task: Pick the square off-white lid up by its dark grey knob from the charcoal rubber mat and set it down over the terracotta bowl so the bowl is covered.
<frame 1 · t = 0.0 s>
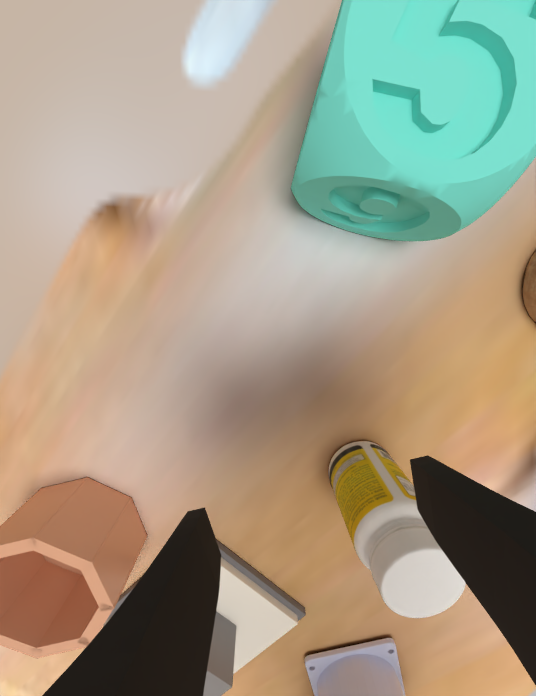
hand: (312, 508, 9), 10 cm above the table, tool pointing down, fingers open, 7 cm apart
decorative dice: (366, 162, 17), on the table
lid: (202, 617, 23), resting on mat
mat: (203, 611, 23), on the table
supplement bottle: (358, 465, 21), on the table
bowl: (86, 529, 21), on the table
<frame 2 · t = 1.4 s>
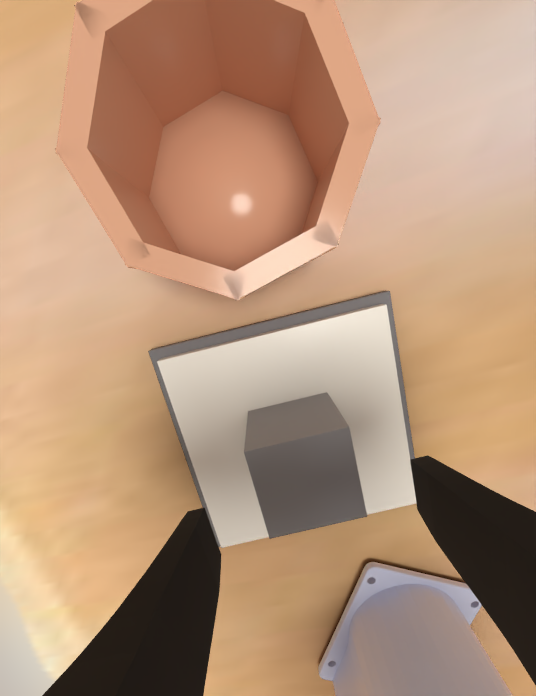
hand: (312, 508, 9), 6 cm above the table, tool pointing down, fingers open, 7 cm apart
lid: (294, 431, 15), resting on mat
mat: (293, 426, 15), on the table
bowl: (234, 194, 13), on the table
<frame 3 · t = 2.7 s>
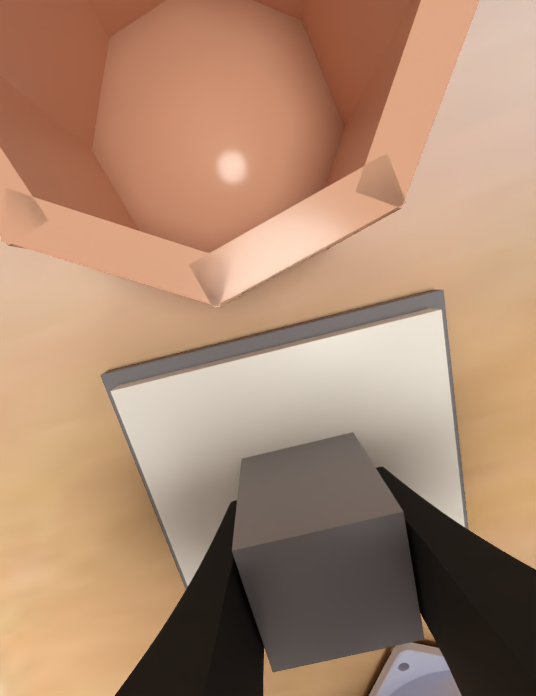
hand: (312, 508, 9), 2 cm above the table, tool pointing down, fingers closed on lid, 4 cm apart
lid: (306, 481, 11), resting on mat, touching gripper
mat: (304, 473, 11), on the table
bowl: (221, 148, 9), on the table
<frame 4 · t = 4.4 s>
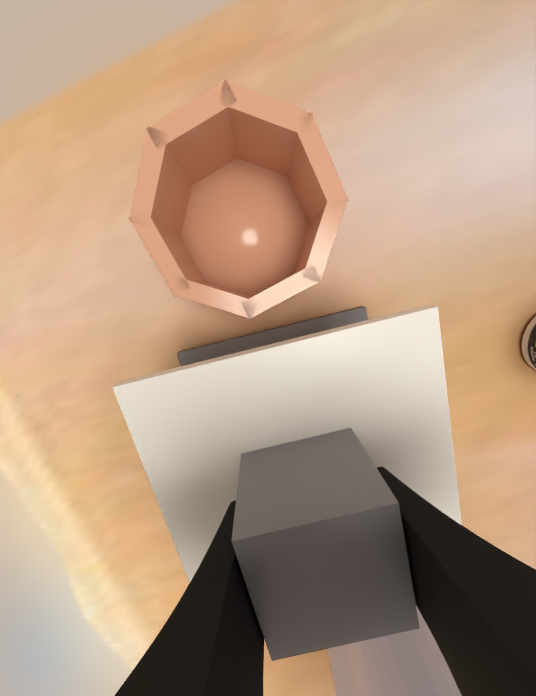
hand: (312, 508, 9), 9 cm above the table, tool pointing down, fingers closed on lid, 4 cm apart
lid: (304, 476, 11), point 8 cm above the table, touching gripper
mat: (291, 414, 19), on the table
bowl: (245, 232, 16), on the table
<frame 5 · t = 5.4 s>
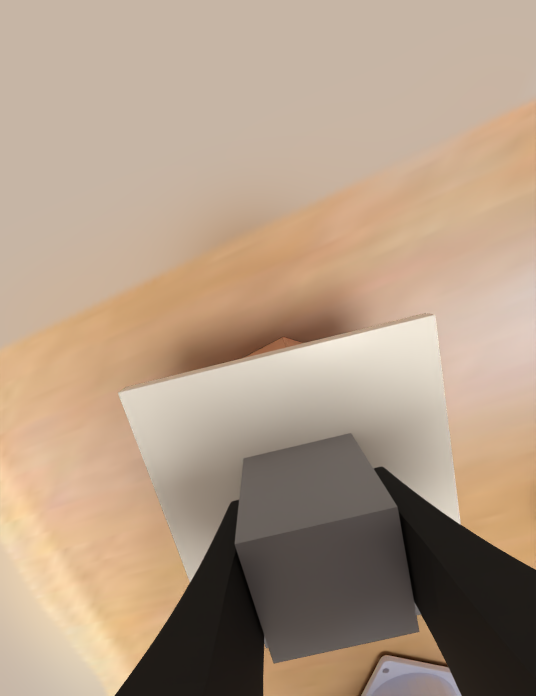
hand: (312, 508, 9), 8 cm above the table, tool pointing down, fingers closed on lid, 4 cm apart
lid: (306, 481, 11), point 6 cm above the table, touching gripper
bowl: (289, 409, 17), on the table
when the fingers open (7 cm above the table, at t = 6.3 s): lid stays where it is, resting on bowl.
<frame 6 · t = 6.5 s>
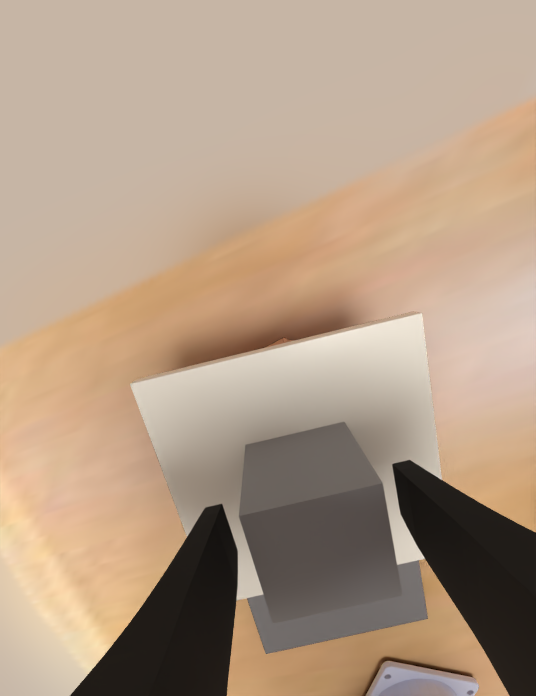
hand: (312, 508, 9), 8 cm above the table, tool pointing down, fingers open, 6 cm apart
lid: (302, 467, 12), point 5 cm above the table, touching bowl
mat: (328, 565, 19), on the table
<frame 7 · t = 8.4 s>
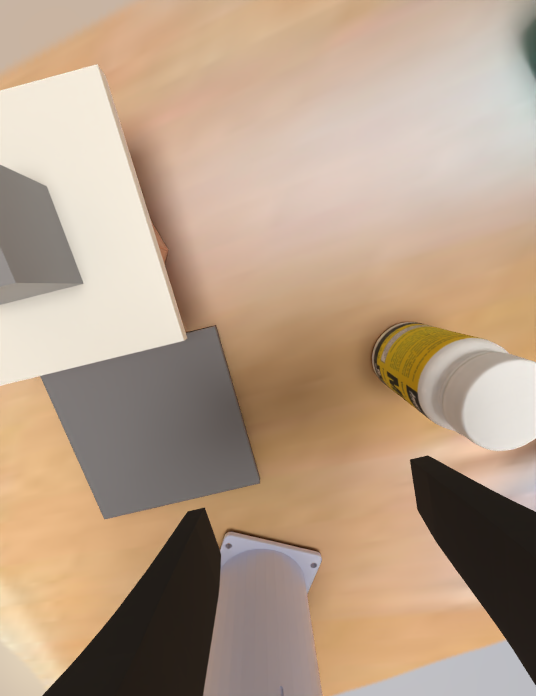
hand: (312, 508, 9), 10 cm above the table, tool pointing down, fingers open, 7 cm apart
lid: (32, 250, 12), point 5 cm above the table, touching bowl
mat: (158, 426, 20), on the table
supplement bottle: (402, 354, 20), on the table
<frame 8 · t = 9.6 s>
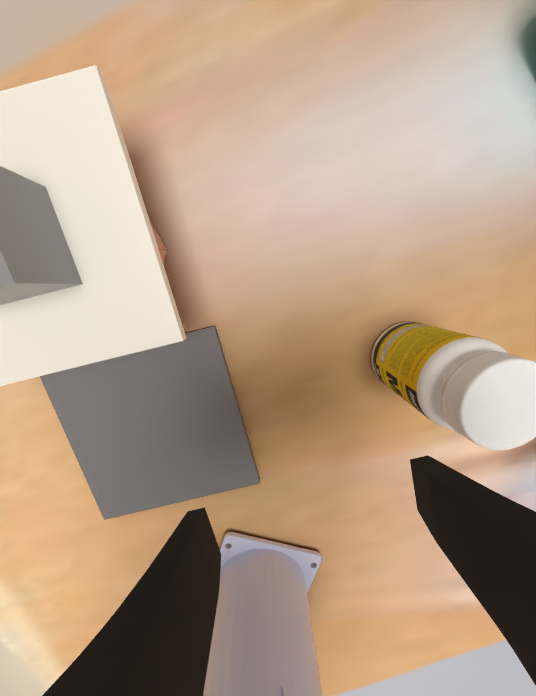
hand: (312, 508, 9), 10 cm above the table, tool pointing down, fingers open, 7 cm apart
lid: (31, 250, 13), point 5 cm above the table, touching bowl
mat: (157, 426, 20), on the table
supplement bottle: (402, 354, 20), on the table
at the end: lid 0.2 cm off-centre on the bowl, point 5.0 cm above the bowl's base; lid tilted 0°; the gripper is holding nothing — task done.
